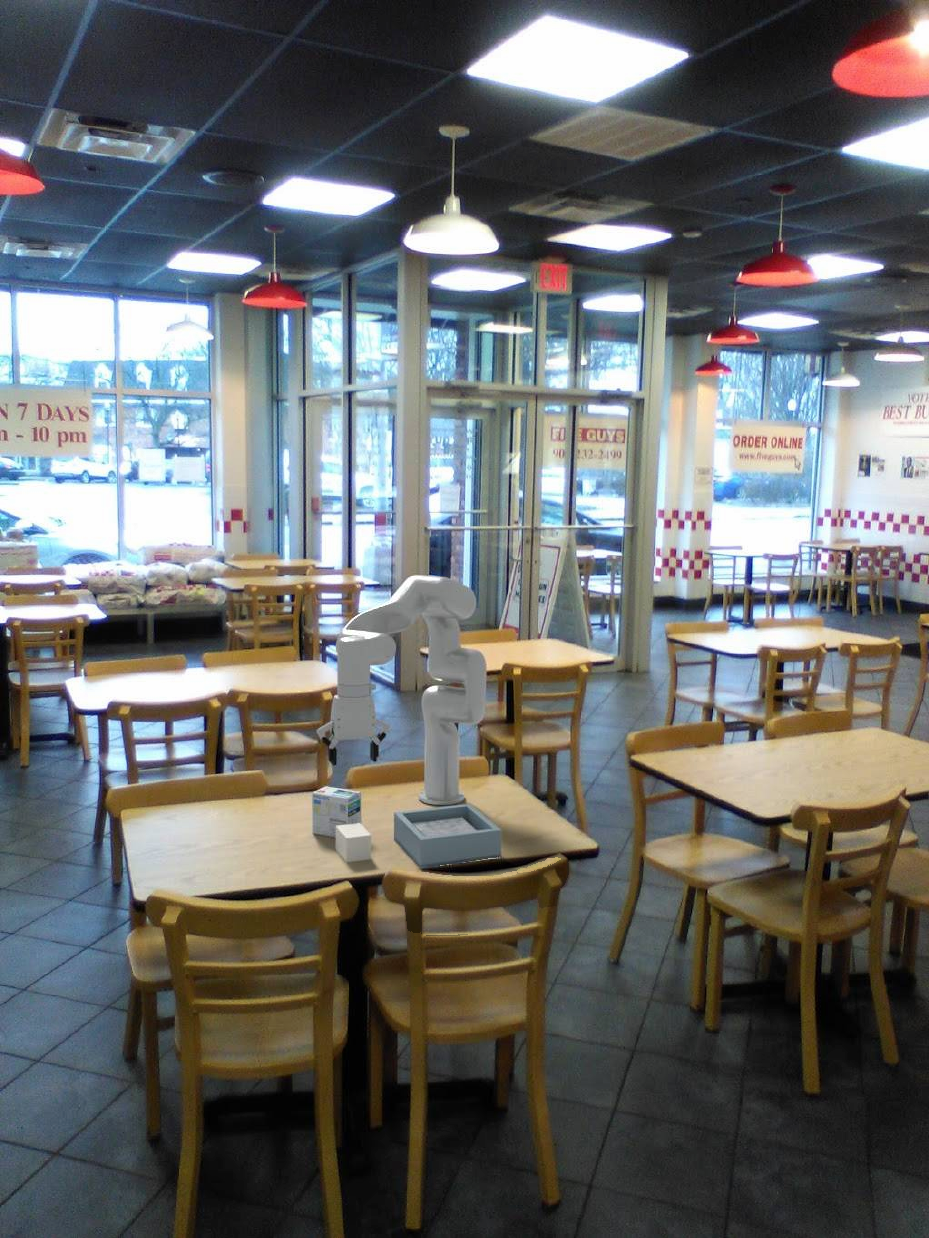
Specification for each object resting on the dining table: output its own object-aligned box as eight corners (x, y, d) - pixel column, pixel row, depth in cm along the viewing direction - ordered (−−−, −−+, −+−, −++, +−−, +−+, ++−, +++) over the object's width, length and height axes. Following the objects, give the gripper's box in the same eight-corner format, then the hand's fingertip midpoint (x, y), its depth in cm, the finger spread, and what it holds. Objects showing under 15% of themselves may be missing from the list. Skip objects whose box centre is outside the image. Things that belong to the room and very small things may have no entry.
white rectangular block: (335, 849, 257) (335, 825, 256) (359, 846, 259) (359, 822, 258) (346, 863, 248) (346, 838, 247) (371, 859, 251) (371, 835, 250)
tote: (393, 839, 263) (394, 812, 262) (469, 830, 271) (469, 803, 270) (420, 869, 245) (420, 839, 244) (500, 858, 252) (501, 829, 251)
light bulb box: (362, 832, 268) (362, 790, 267) (348, 841, 262) (348, 798, 260) (325, 825, 273) (325, 784, 271) (311, 833, 267) (311, 792, 265)
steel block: (412, 838, 261) (412, 823, 261) (461, 832, 266) (461, 817, 265) (429, 857, 249) (430, 841, 249) (481, 850, 254) (481, 834, 253)
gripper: (384, 684, 254) (384, 754, 257) (313, 689, 248) (313, 761, 250) (394, 691, 247) (393, 763, 250) (321, 696, 241) (321, 769, 244)
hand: (353, 762), depth 250 cm, fingers open, 9 cm apart
